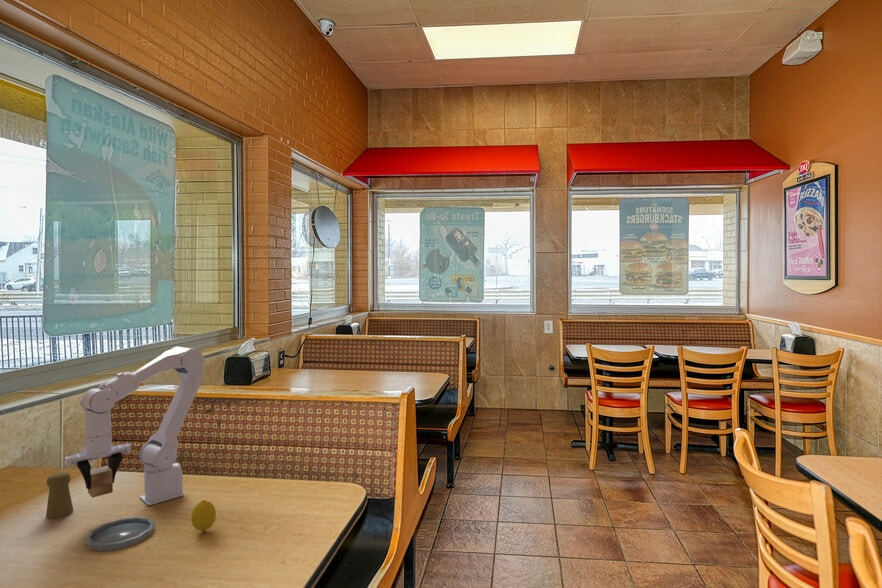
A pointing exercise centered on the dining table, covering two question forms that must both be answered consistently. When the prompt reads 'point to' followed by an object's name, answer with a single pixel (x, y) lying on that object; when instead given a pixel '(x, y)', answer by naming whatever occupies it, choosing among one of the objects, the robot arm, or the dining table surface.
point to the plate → (119, 533)
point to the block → (101, 481)
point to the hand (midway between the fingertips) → (100, 485)
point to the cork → (58, 495)
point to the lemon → (203, 515)
